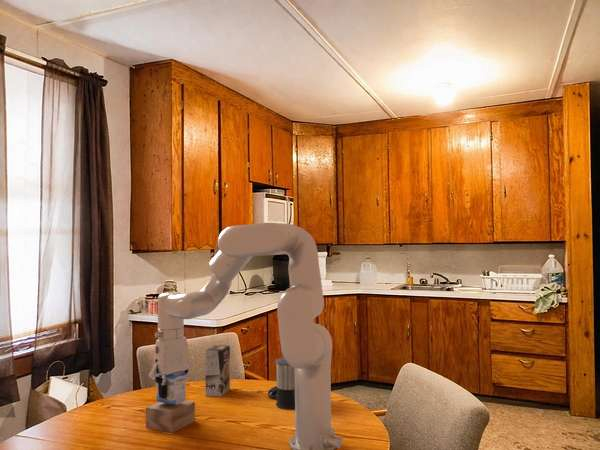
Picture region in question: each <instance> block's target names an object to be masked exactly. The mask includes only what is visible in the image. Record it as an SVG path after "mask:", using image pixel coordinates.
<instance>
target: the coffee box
mask: <svg viewBox="0 0 600 450" xmlns="http://www.w3.org/2000/svg"><path fill="white" fill-rule="evenodd" d="M230 348H231V347H230V345H227V344H226V345H223V344H222V345H213V346H211V347H209V348H207V349H205V351H204V353H205V357H204V358H205V366H204V369H205V370H204V371H205V373H204V374H205V377H204V379H205V380H204V383H205V384H204V386H205V387H204V388H205V389H204V391H205V392H204V393H205V394H204V395H205V396H209V397H210V396H211V397H222V396H224V395H225V394H226V393H227V392H228V391H229V390H230V389H231V349H230Z"/></svg>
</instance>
